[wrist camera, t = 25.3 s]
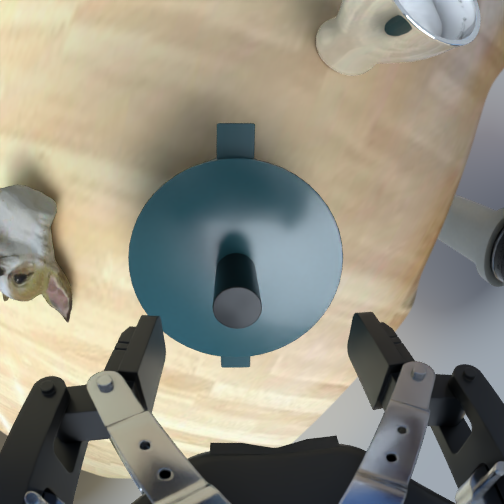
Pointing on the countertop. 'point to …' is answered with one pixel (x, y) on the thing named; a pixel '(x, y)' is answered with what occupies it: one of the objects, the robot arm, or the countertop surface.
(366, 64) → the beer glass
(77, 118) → the countertop surface
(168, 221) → the lid
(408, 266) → the countertop surface
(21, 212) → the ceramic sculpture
